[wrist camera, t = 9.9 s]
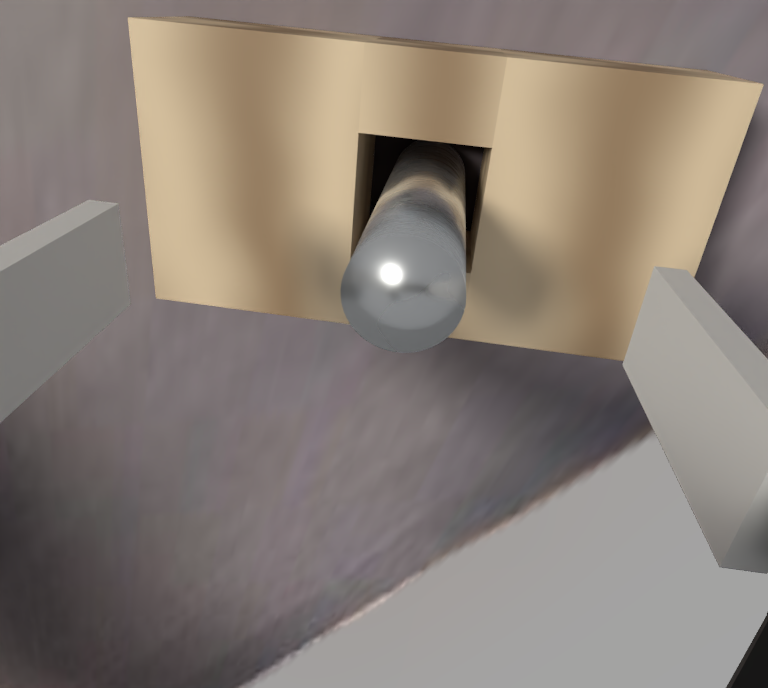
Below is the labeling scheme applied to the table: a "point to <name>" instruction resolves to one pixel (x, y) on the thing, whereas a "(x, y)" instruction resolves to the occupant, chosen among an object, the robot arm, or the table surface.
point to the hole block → (431, 123)
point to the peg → (412, 254)
